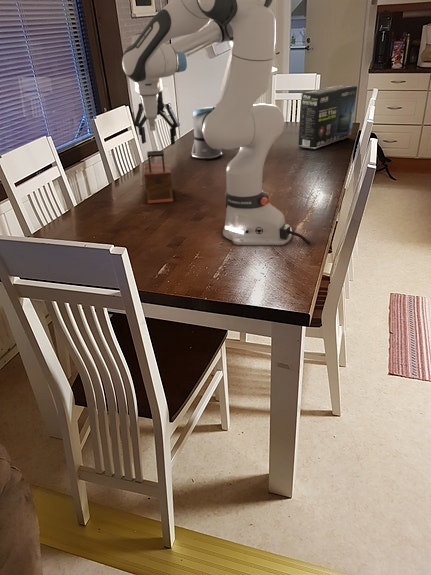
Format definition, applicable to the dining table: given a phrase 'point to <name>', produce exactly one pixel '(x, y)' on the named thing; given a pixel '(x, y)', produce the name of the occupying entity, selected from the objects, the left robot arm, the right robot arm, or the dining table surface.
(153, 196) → the chest
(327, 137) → the router box
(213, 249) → the dining table surface
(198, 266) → the dining table surface
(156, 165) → the lid
